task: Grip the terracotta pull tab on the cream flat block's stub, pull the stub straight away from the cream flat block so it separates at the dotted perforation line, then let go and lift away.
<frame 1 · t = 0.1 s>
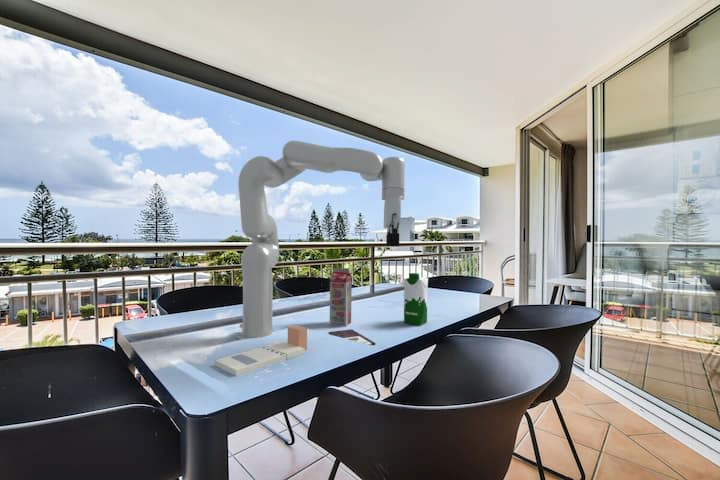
hand: (392, 245, 111), 31 cm above the table, tool pointing down, fingers open, 9 cm apart
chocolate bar: (350, 340, 111), on the table
stub: (288, 340, 93), point 4 cm above the table, slide at 0.0 cm
milk carton: (415, 323, 133), on the table
juice carton: (340, 324, 130), on the table
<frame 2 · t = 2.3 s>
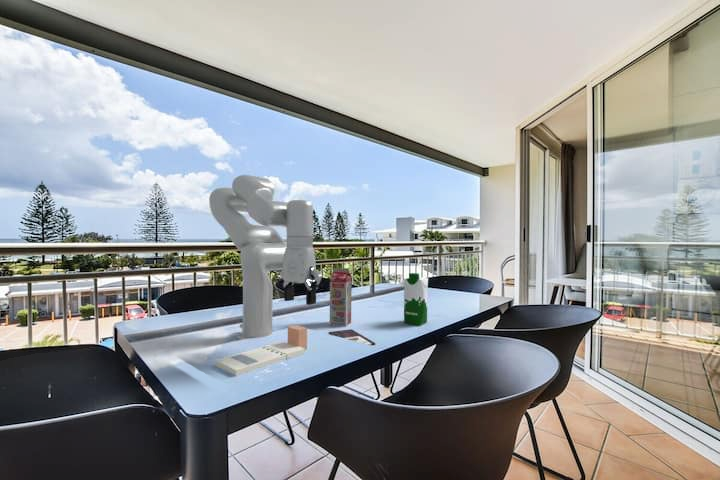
hand: (299, 302, 96), 15 cm above the table, tool pointing down, fingers open, 9 cm apart
nothing on the table moved.
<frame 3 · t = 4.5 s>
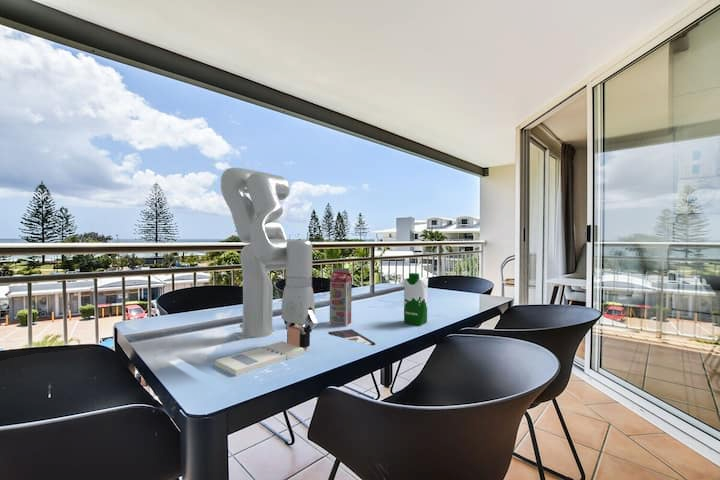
hand: (298, 344, 96), 2 cm above the table, tool pointing down, fingers closed on stub, 5 cm apart
stub: (288, 340, 93), point 4 cm above the table, slide at 0.0 cm, touching gripper
everything else where it was.
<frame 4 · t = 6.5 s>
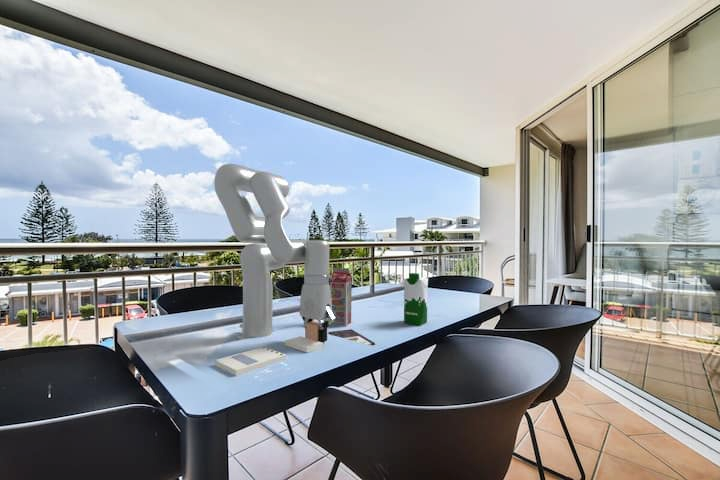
hand: (316, 339, 101), 2 cm above the table, tool pointing down, fingers closed on stub, 5 cm apart
stub: (307, 335, 99), point 4 cm above the table, slide at 7.0 cm, touching gripper
everything else where it was.
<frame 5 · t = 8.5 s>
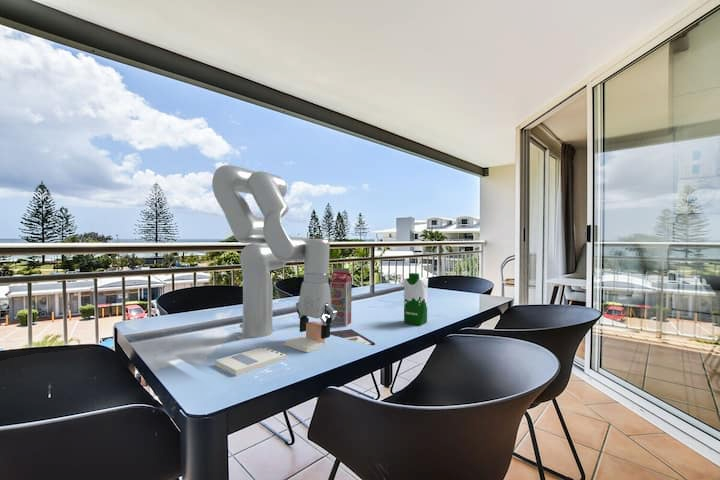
hand: (314, 334, 102), 4 cm above the table, tool pointing down, fingers open, 9 cm apart
stub: (307, 335, 99), point 4 cm above the table, slide at 7.0 cm
everything else where it was.
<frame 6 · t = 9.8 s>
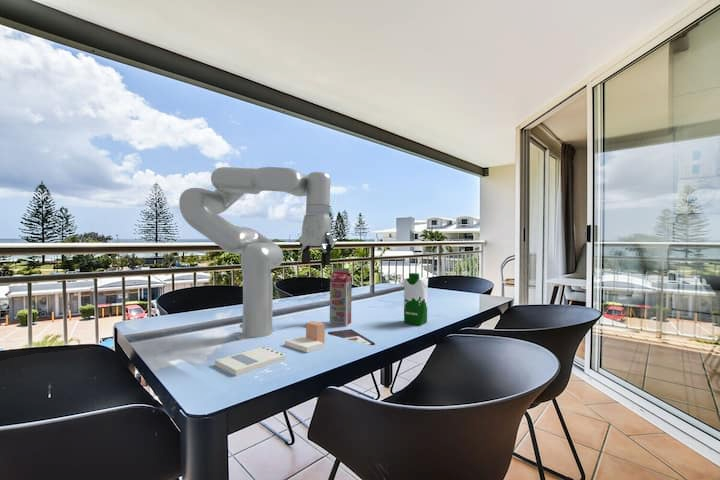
hand: (315, 263, 107), 25 cm above the table, tool pointing down, fingers open, 9 cm apart
nothing on the table moved.
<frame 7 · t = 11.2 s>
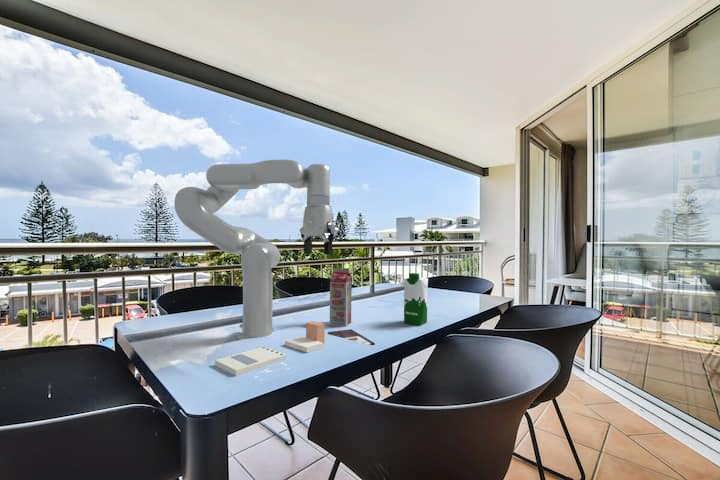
hand: (317, 253, 110), 28 cm above the table, tool pointing down, fingers open, 9 cm apart
nothing on the table moved.
at the end: stub slide at 7.0 cm; the gripper is holding nothing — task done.
